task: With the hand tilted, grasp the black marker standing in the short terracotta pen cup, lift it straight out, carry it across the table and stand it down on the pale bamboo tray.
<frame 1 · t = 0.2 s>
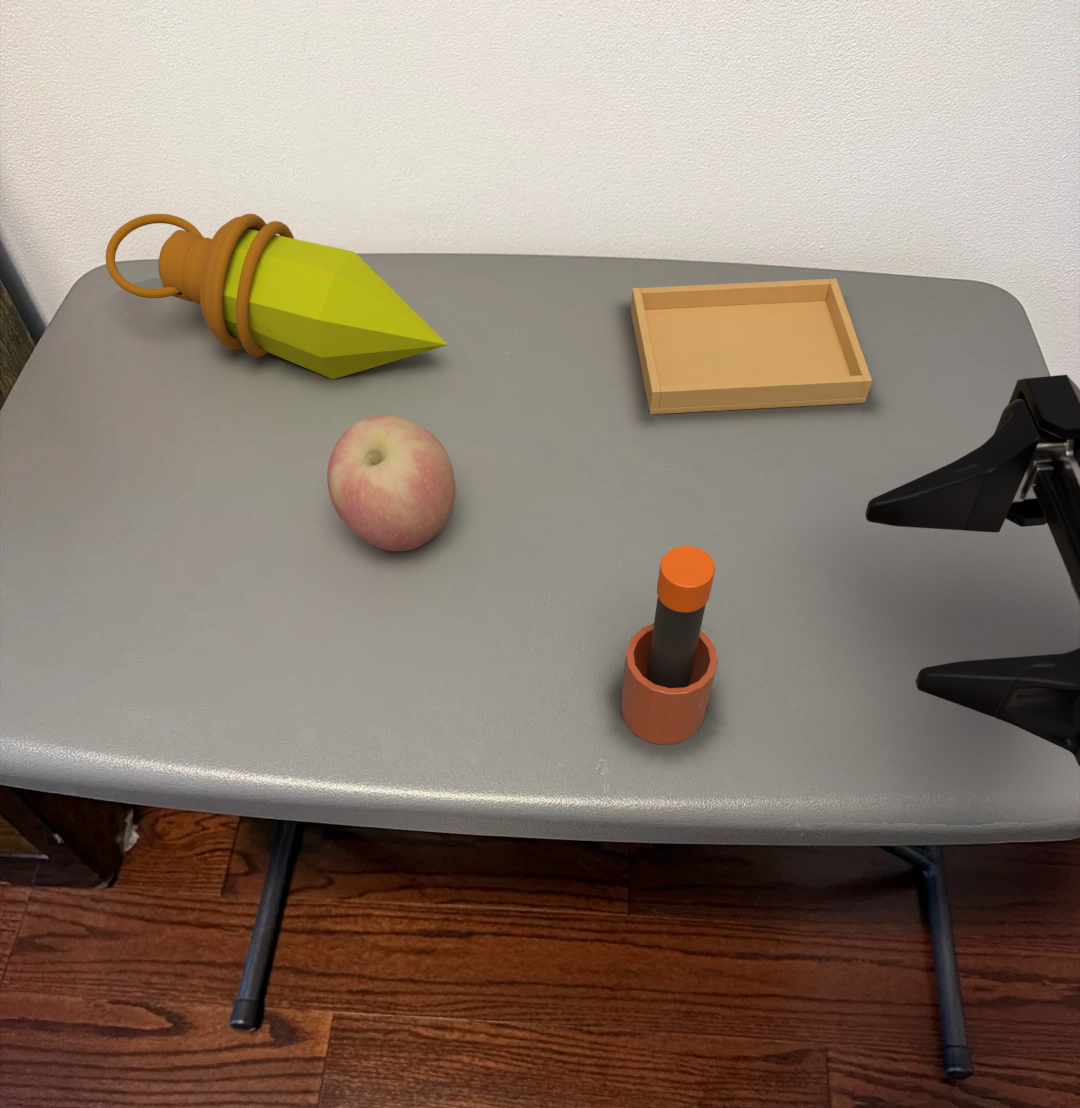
hand: (891, 590, 46), 16 cm above the table, tool horizontal, fingers open, 9 cm apart
pen cup: (662, 709, 62), on the table, touching marker
apple: (399, 532, 69), on the table
plumb bob: (291, 348, 79), on the table
tray: (743, 355, 78), on the table
marker: (663, 703, 61), point 1 cm above the table, touching pen cup
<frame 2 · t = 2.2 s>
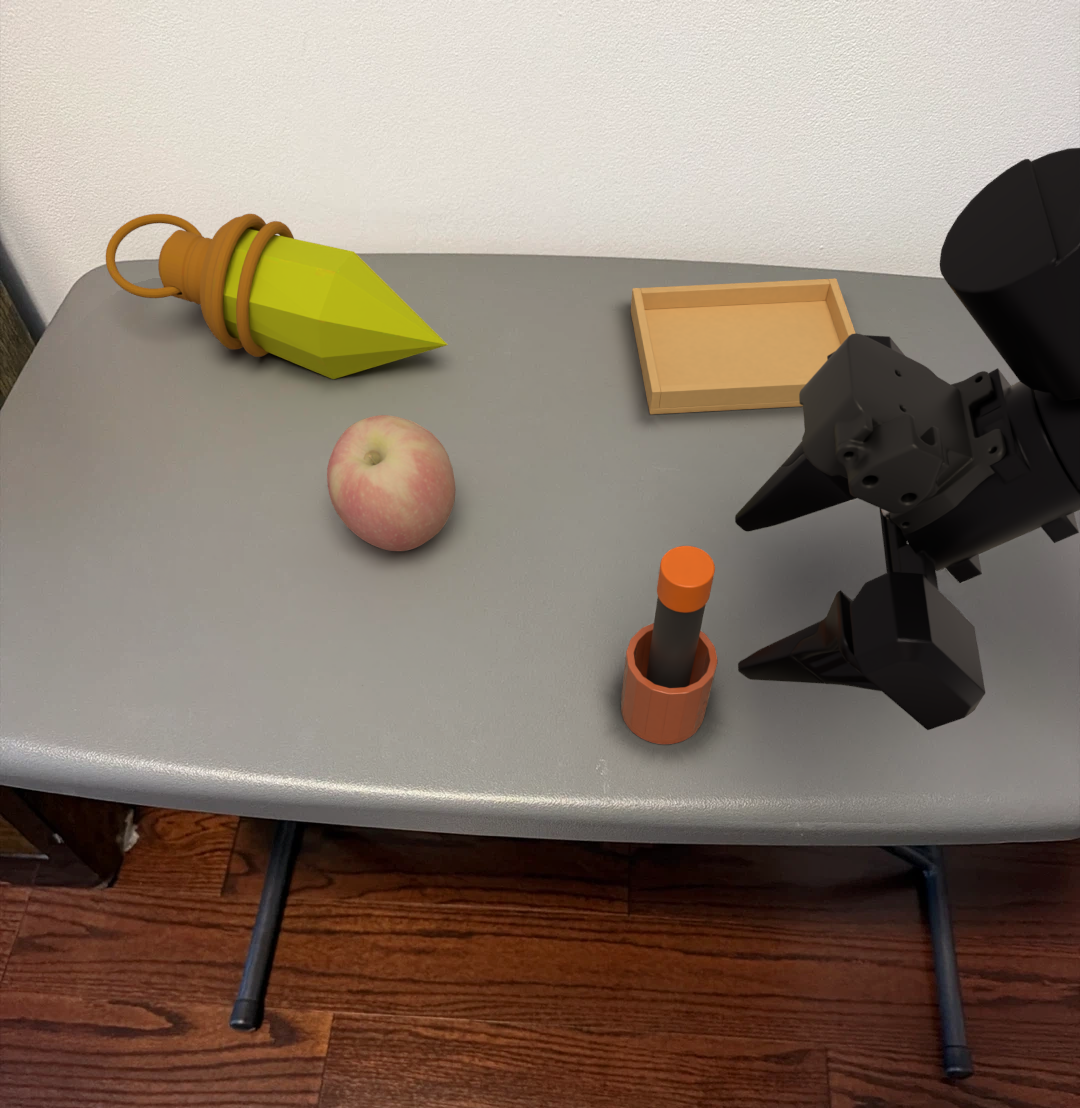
hand: (741, 594, 53), 11 cm above the table, tool tilted 45°, fingers open, 9 cm apart
nothing on the table moved.
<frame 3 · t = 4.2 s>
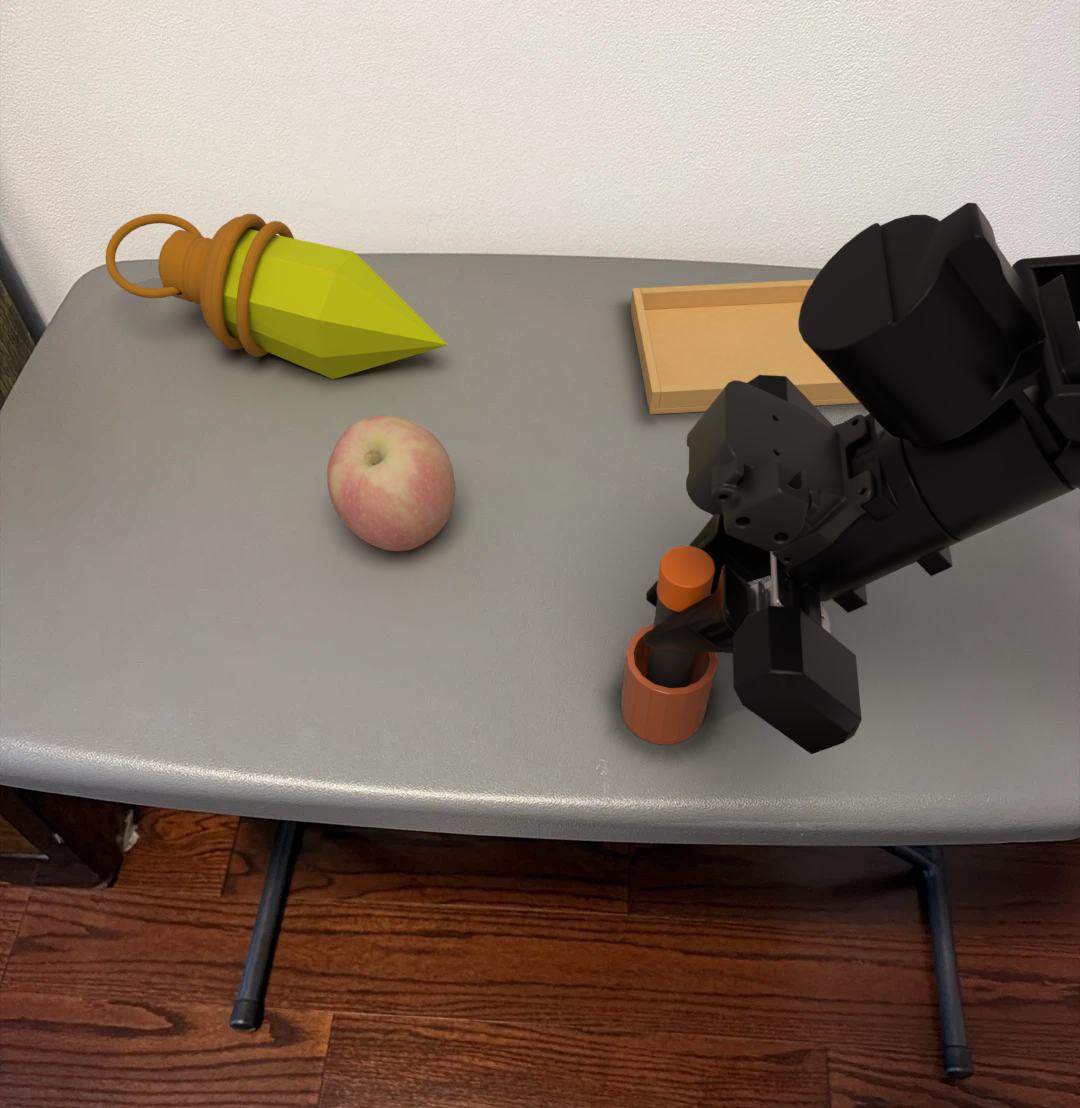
hand: (650, 621, 55), 8 cm above the table, tool tilted 45°, fingers closed on marker, 2 cm apart
marker: (663, 703, 61), point 1 cm above the table, touching gripper, pen cup
everything else where it was.
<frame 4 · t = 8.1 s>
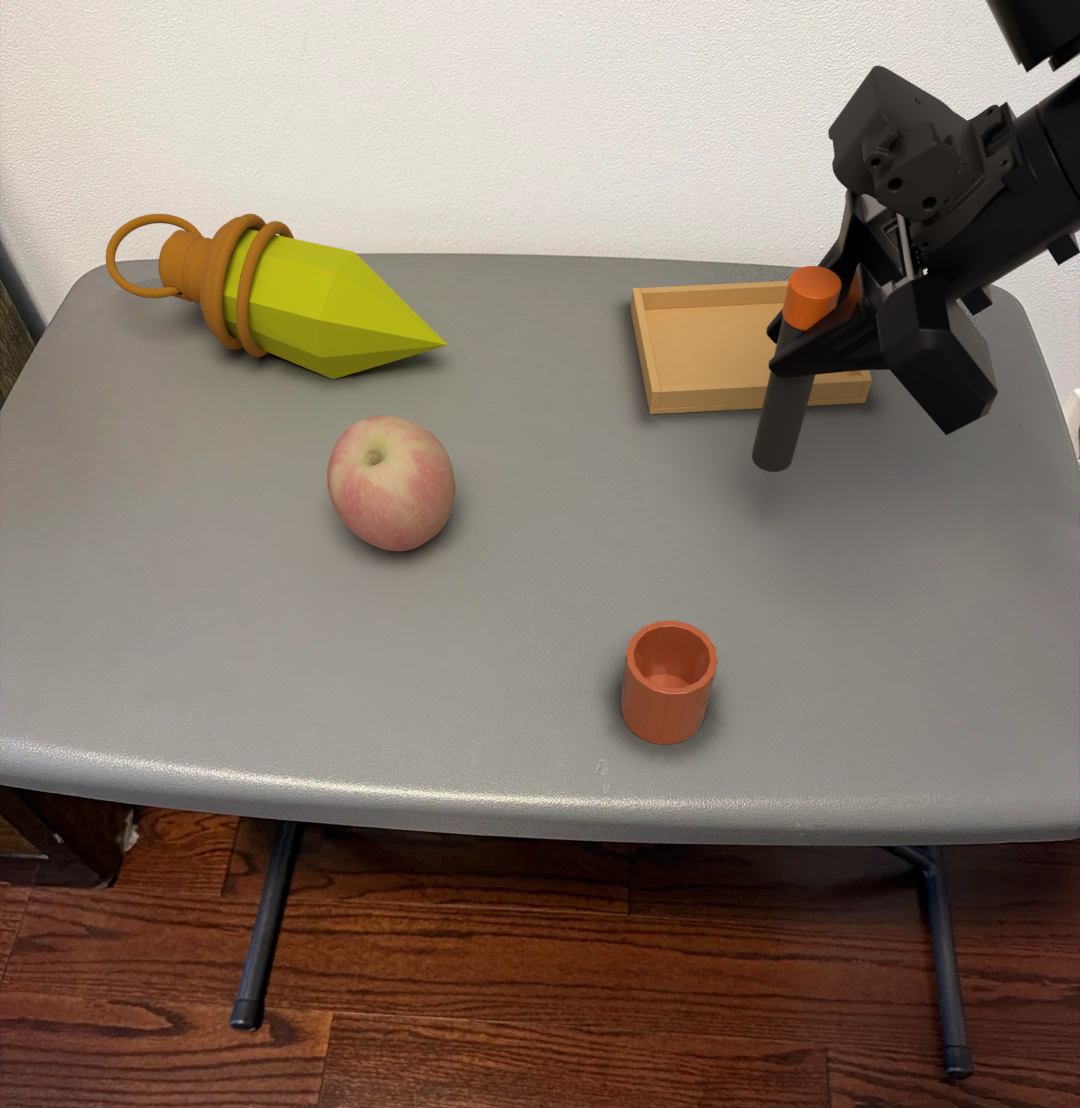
hand: (771, 353, 58), 14 cm above the table, tool tilted 45°, fingers closed on marker, 2 cm apart
pen cup: (662, 709, 62), on the table
marker: (771, 458, 64), point 6 cm above the table, touching gripper
everything else where it was.
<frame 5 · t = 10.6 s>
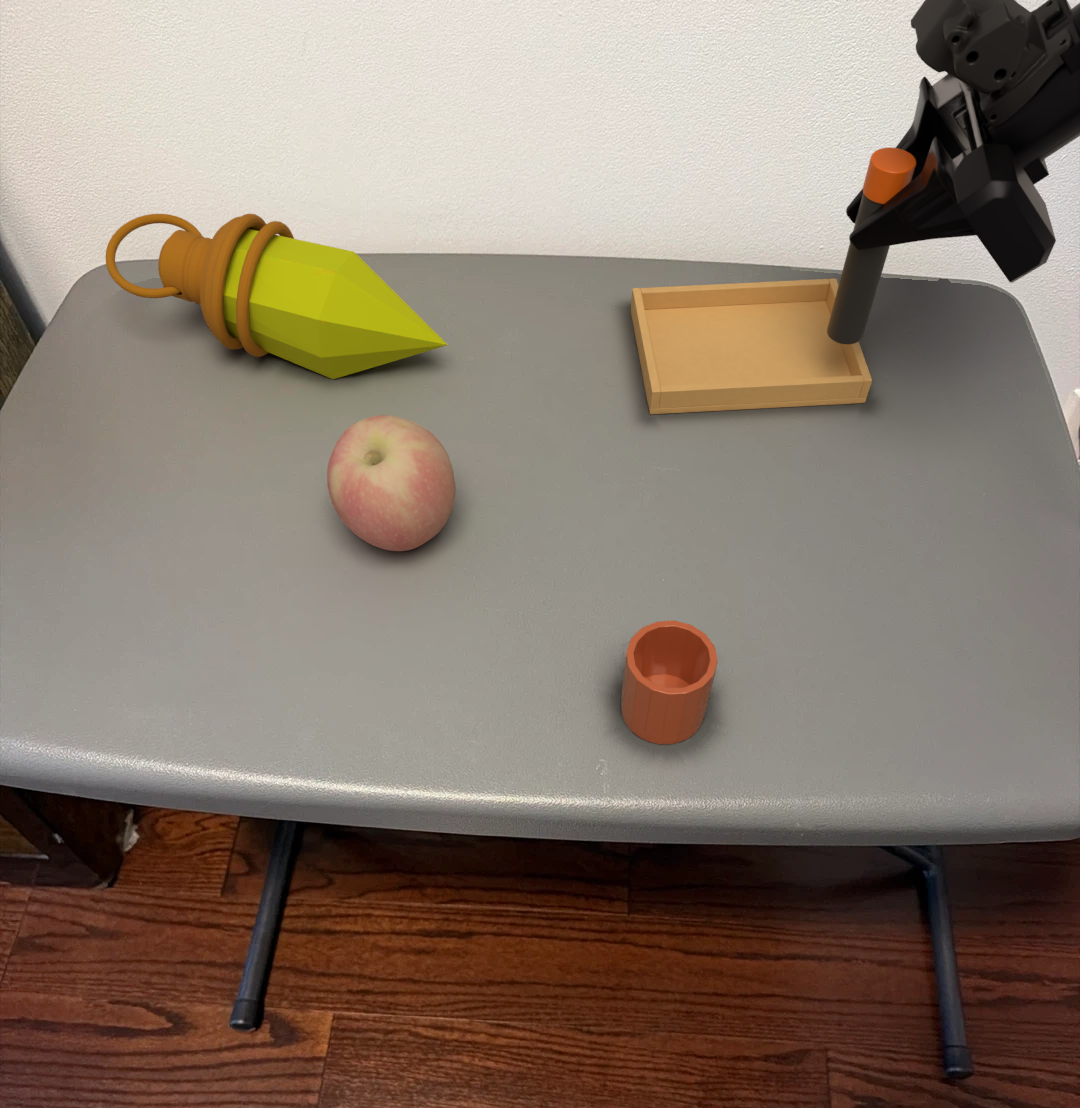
hand: (851, 230, 66), 12 cm above the table, tool tilted 45°, fingers closed on marker, 2 cm apart
marker: (844, 333, 72), point 5 cm above the table, touching gripper
everything else where it was.
when the fingers open (8 cm above the table, at t = 12.0 s): marker stays where it is, resting on tray.
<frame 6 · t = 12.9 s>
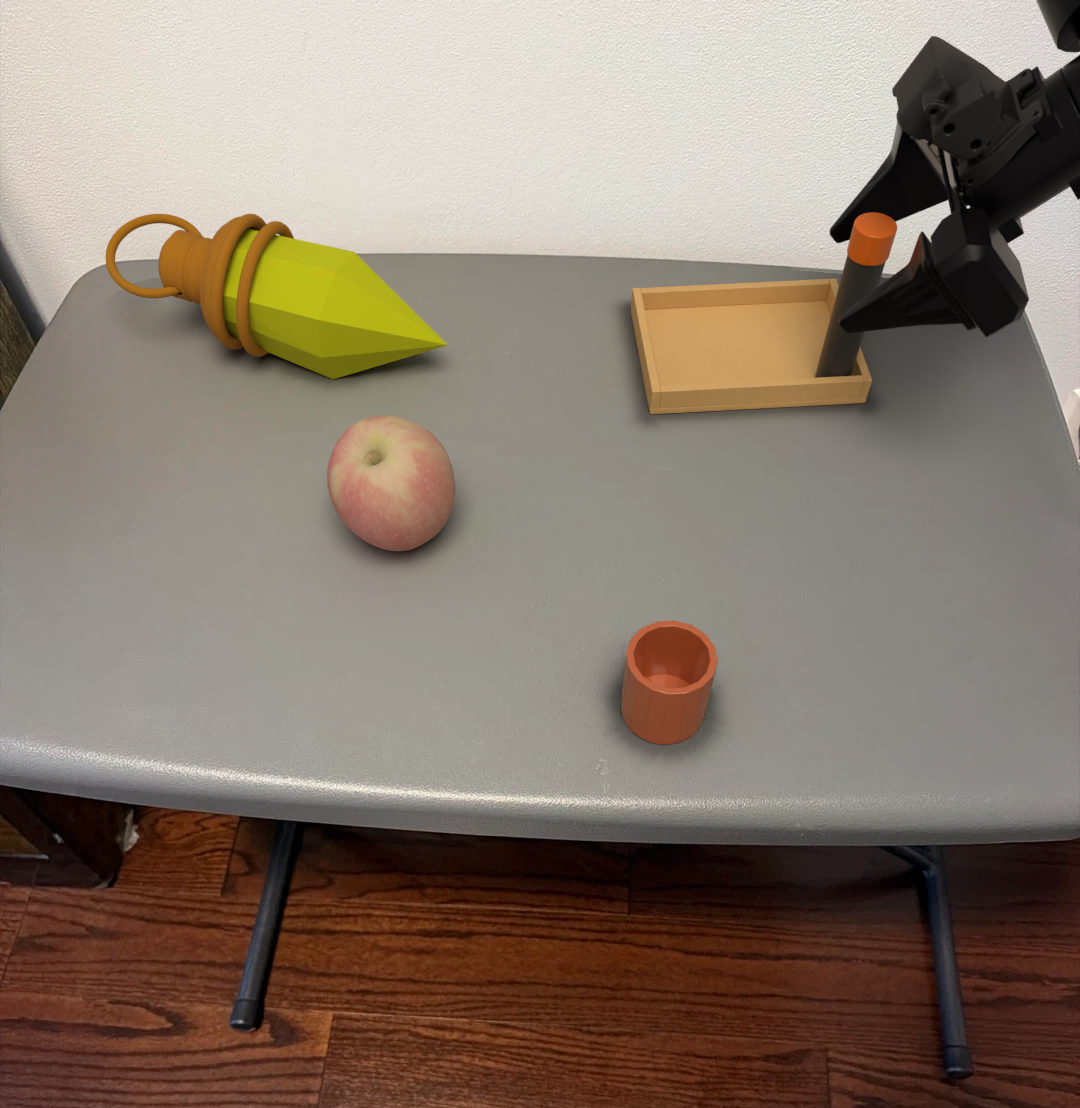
hand: (837, 280, 69), 8 cm above the table, tool tilted 45°, fingers open, 9 cm apart
marker: (831, 381, 76), resting on tray
everything else where it was.
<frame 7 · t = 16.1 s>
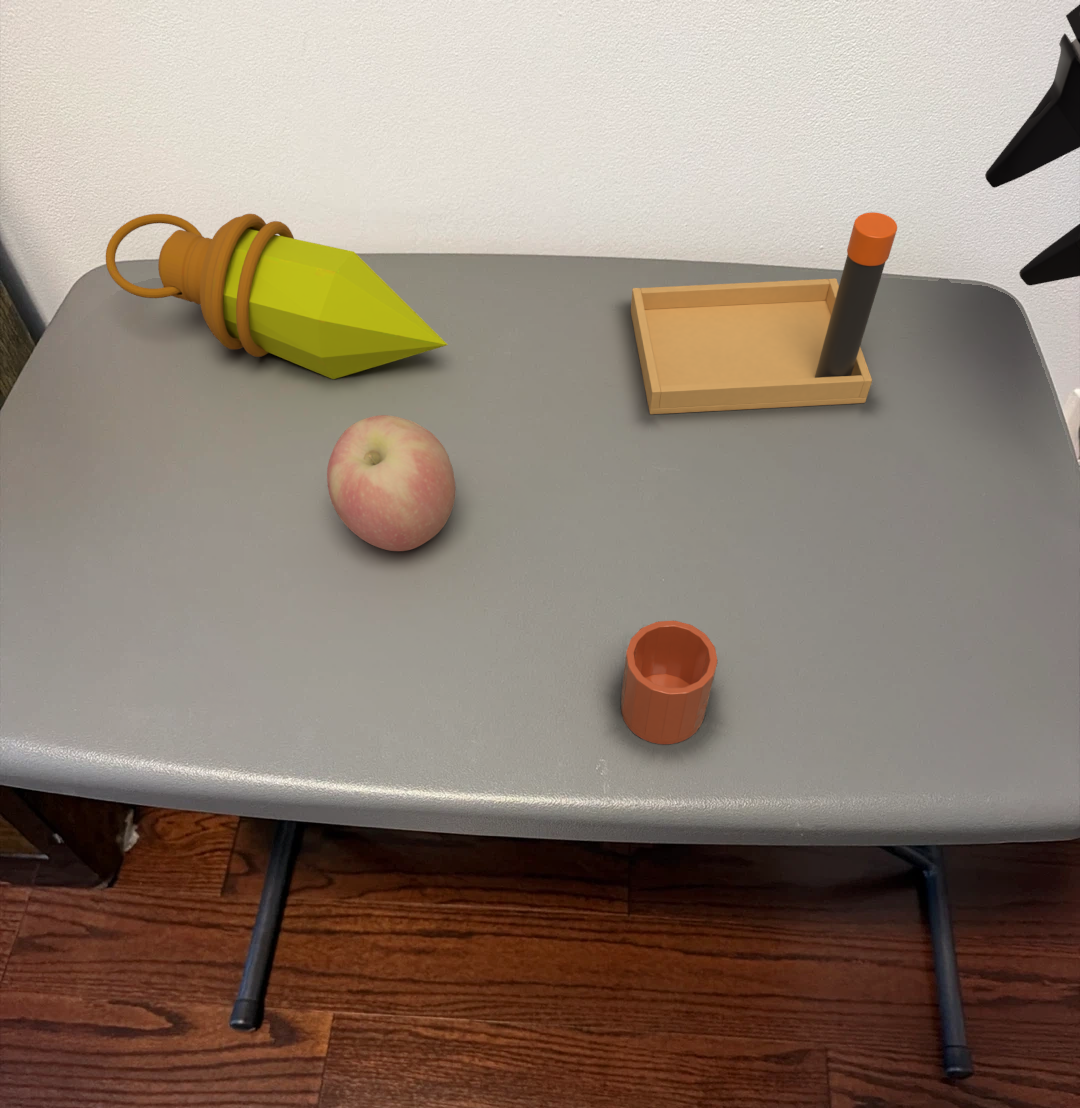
hand: (1005, 228, 64), 13 cm above the table, tool tilted 40°, fingers open, 9 cm apart
nothing on the table moved.
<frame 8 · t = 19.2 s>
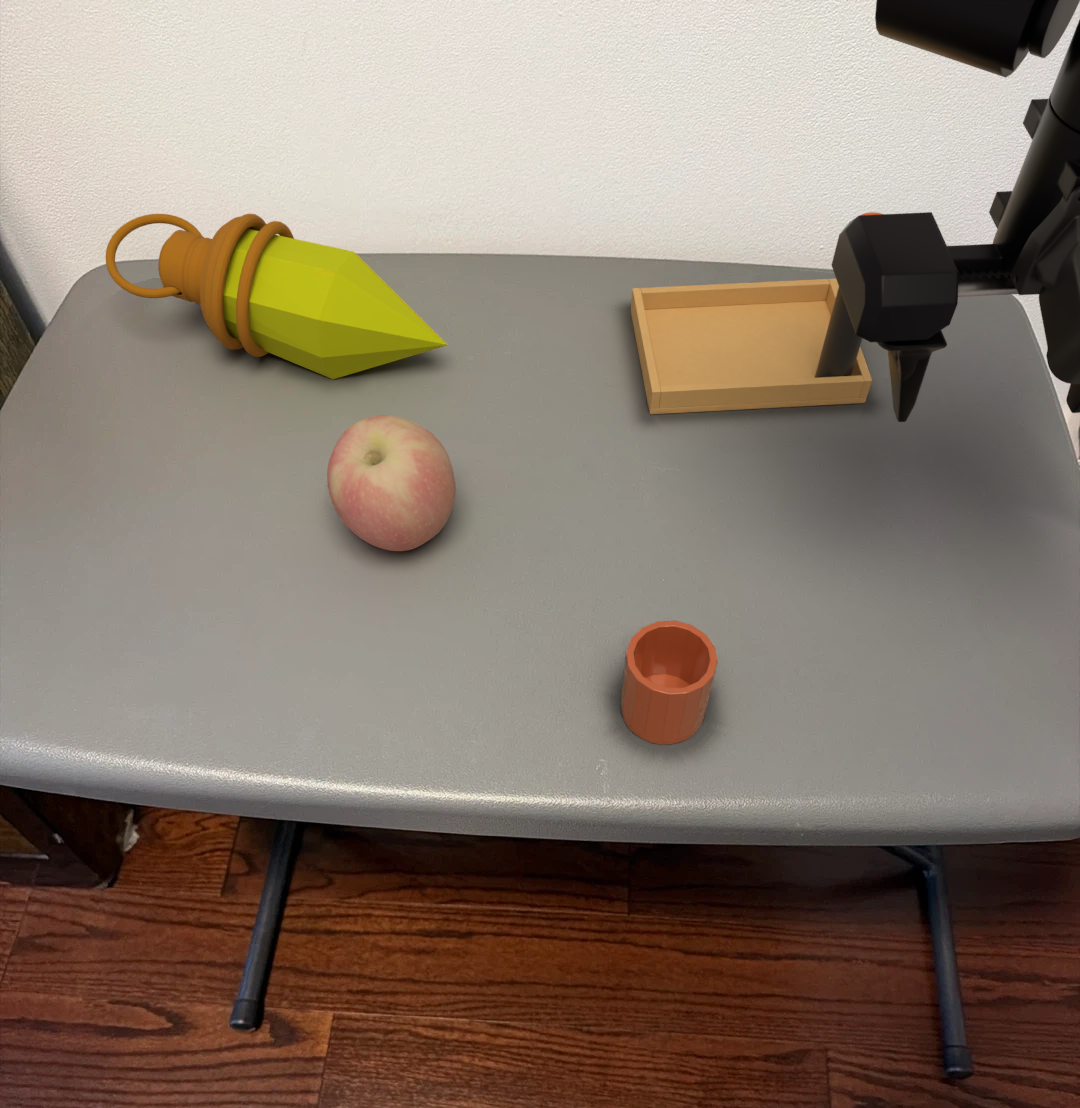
hand: (986, 412, 56), 13 cm above the table, tool pointing down, fingers open, 9 cm apart
nothing on the table moved.
at the end: marker inside the target area on the tray (6.7 cm from its centre), point 0.5 cm above the tray's base; marker touching tray; the gripper is holding nothing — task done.
